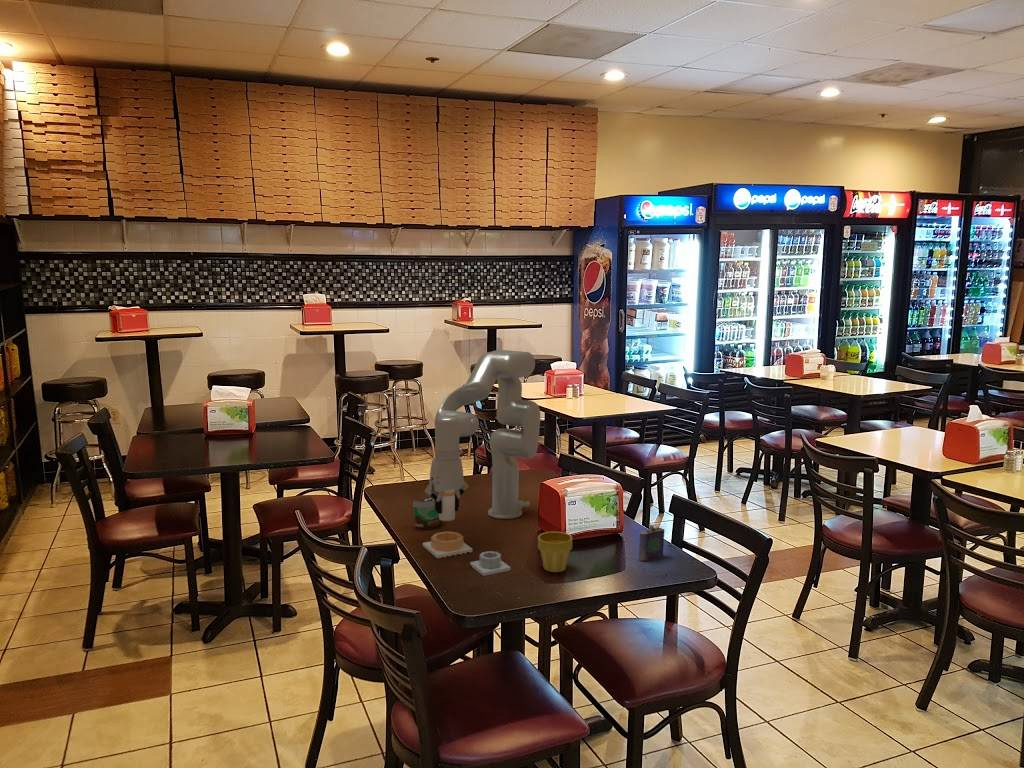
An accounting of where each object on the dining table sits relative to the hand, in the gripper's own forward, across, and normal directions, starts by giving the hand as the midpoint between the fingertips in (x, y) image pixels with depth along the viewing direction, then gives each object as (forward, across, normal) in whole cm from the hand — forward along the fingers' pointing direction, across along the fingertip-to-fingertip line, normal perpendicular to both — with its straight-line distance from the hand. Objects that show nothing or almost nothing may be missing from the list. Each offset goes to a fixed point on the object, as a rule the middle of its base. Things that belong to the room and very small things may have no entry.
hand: (446, 510), depth 237 cm
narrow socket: (+13, -5, +20) cm, 24 cm away
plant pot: (+13, -22, +29) cm, 39 cm away
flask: (+13, -53, +36) cm, 65 cm away
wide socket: (+13, 0, 0) cm, 13 cm away
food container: (+13, -4, -22) cm, 26 cm away
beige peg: (+2, 0, 0) cm, 2 cm away
